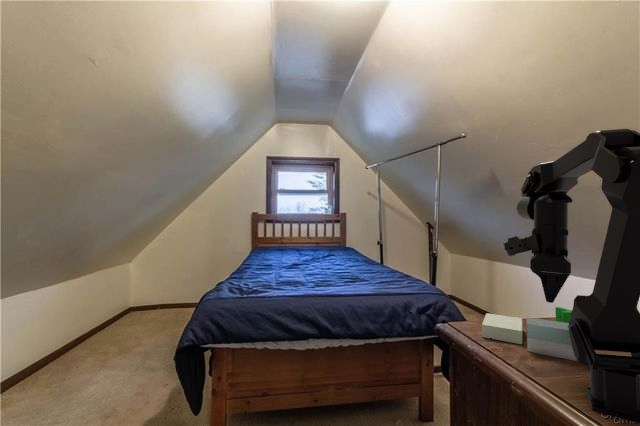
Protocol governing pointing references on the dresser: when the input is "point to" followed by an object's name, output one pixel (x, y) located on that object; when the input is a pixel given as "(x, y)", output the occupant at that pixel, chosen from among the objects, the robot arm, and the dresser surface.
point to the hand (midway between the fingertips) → (549, 295)
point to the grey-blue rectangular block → (549, 338)
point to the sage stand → (502, 328)
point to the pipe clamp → (563, 314)
